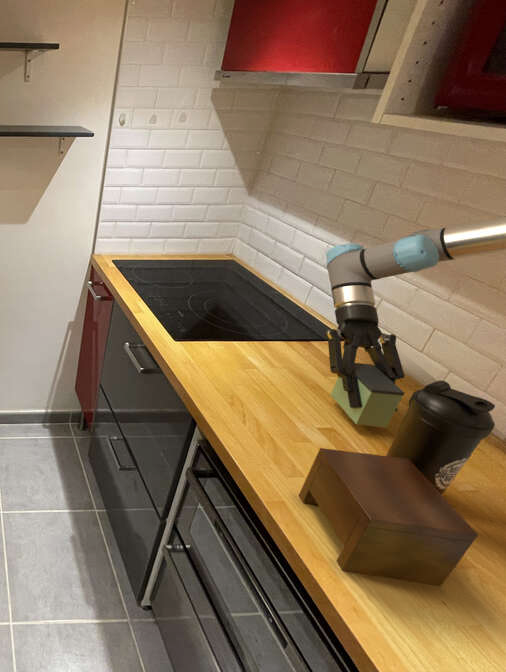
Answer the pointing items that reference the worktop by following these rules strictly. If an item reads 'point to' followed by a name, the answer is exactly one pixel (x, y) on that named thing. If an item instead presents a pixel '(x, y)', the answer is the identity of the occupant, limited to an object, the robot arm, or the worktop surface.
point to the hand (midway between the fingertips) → (373, 408)
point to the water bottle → (441, 431)
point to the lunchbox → (370, 396)
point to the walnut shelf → (387, 516)
